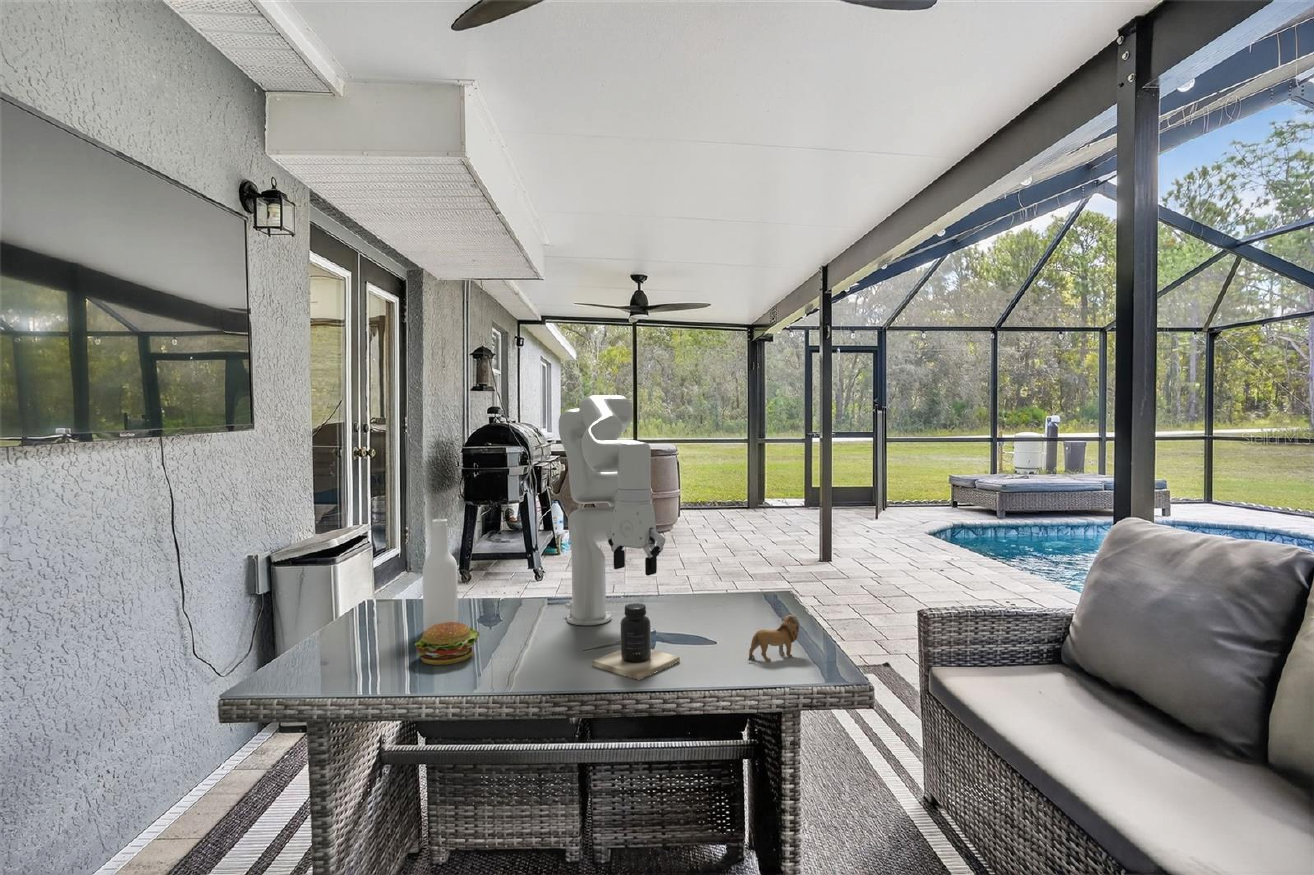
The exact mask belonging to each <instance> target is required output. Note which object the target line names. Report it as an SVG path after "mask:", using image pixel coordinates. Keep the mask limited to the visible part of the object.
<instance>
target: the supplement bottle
mask: <svg viewBox="0 0 1314 875" xmlns="http://www.w3.org/2000/svg"><path fill="white" fill-rule="evenodd" d="M646 607H647V606H646V604H643V603H639V602H638V603H635V602H634V603H628V604H626V605H625V606H624V614H623V615H624V617H623V618H622V619H621V621H620V650H621V657H622V659H623V660H624V661H625V662H629V663H642V662H645V661H647V660H649V659H650V657H651V649H652V641H651V639H652V636H651V632H652V630H651V629H652V628H651V620H650V618H649V617H648V616H646V615H647V610H646V609H647V608H646Z"/></svg>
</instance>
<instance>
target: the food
mask: <svg viewBox="0 0 1314 875" xmlns="http://www.w3.org/2000/svg"><path fill="white" fill-rule="evenodd" d="M479 637H480V632H479V631H478V630H476V629H473V628H471V627H469V626H467V624H465V623H463V622H459V621H458V622H444V623H440V624H436V625H433V626H431V627H430V628H428V629H427V630H426V631H424V632H423V633H422V637H421V638H419V640H418V641H417V642H415V643H414V646H416V649H417V651H416V654H417V656H419V657H420V659H421V661H422V662H423V663H424V664H428V665H433V666H445V665H451V664H457V663H460V662H464V661H466V660H468V659H469V658H470V657H472V655H473V653H474V651H473V647H474V646H475V645H476V643H477V640H478V639H479Z"/></svg>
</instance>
